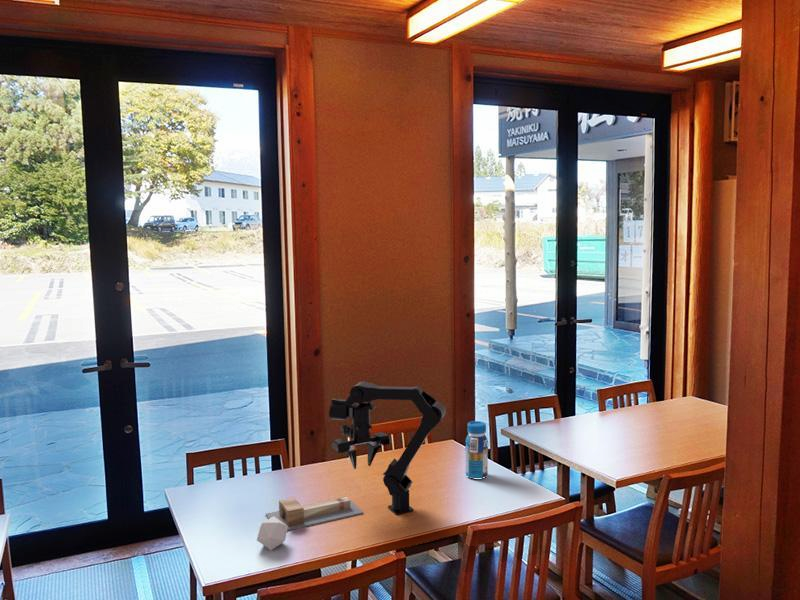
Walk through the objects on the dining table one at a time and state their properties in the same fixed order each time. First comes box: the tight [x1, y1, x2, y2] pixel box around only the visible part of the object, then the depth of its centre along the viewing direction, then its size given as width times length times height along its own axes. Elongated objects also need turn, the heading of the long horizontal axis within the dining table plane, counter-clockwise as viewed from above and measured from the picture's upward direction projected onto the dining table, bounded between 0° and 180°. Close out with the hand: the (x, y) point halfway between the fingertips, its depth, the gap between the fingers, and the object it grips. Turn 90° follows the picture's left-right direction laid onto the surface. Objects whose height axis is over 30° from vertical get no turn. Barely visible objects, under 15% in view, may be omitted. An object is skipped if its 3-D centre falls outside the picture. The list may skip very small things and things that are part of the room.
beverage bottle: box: [464, 420, 489, 478], centre depth 241 cm, size 8×8×20 cm
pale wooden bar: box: [301, 496, 351, 518], centre depth 211 cm, size 3×18×3 cm, turn 118°
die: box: [256, 516, 288, 551], centre depth 190 cm, size 8×9×10 cm
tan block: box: [278, 497, 304, 527], centre depth 206 cm, size 9×5×5 cm, turn 28°
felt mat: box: [265, 496, 364, 532], centre depth 211 cm, size 14×28×1 cm, turn 118°
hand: (361, 467), depth 217 cm, fingers open, 5 cm apart
